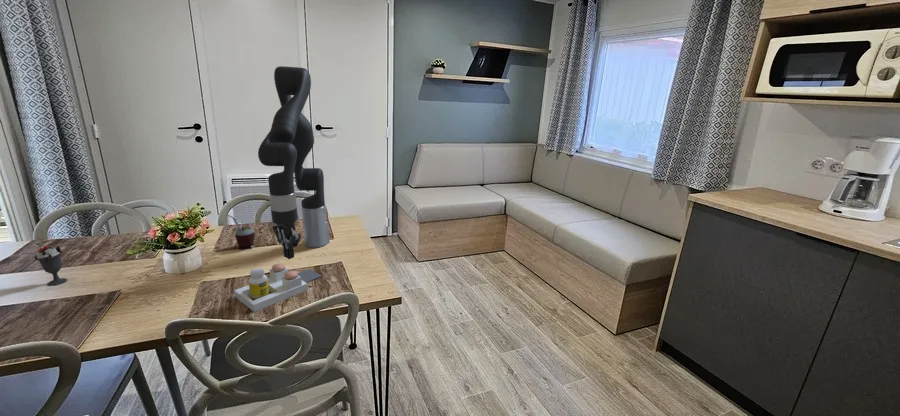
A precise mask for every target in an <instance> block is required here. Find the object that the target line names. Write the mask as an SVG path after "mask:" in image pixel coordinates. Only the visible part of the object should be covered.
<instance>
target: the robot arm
mask: <svg viewBox="0 0 900 416" xmlns="http://www.w3.org/2000/svg"><path fill="white" fill-rule="evenodd" d="M273 77H274V78H273V80H274V84H275V85H274V86H275V90H276V93H277V96H278V101H279V103H280V106H281V107H280V108H278V110H277V111H276V112H275V114H274V117H273V120H272V123H271V127H270V130H269V132H268V133H267V134H266V136H265V138H264V139H263V140H262V141H261V144H260V145H259V147H258V152H257V157H258V161H259V163H261V164H262V165H263V166H266V167H283V171H280V172H275V173H272V174H270V175H269V176H268V178H267V179H268V187H269V188H268V189H269V205H270V206H269V208H270V215H271V220H272V221H271V222H272V223H273V224H274V226H272V230H273V232H274V235H275V237H276V239H277V241H278V244H280V245H281V247H282V248H283V257H285V258H286V259H288V260H291V259H294V257H295V253H294V252H295V250H294V248H296V247H298V245H299V242H300V240H301V237H302V235H301V234H300V233H297V232H296V225H295V223H296V222H297V221H298V220H299V216H298V205H297V204H298V203H297V197H296V194H295V186H296V188H297V190H299V191H303V192H305V191H306V192H308V191H315V193H313V194H312V195H309V196H306V197H304V198H302V200H301V214H302V223H303V234H304V235H303V237H304V245H305V247H307V248H312V249H313V248H315V249H316V248H321V247H325V246H326V245H327V244H329V243H330V231H329V229H330V228H329V222H328V221H327V216H326V214H327V213H326V202H325V201H326V200H325V183H324V182H325V177H324V171H323V170H322V168H320V167H319V168H318V167H314V168H313V167H309V168H308V167H305V168H304V167H303V165H304V162H305V160H306V159H307V156H308V155H309V154H310V152H311V150H312V149H313V147H314V145H315V136H314V129H313V125H312V124H311V122H310V120H309V119H308V118H307V117H306V116H305V115H304V114H303V112H302V111H303V109H304V108H305V105H306V103H307V100H308V97H309V96H310V93H311V87H312V78H311V74H310V71H309V69H306V68H304V67H300V66H298V67H297V66H296V67H295V66H284V65H283V66H276V67H275V69H274V73H273ZM294 181H295V184H294ZM294 185H295V186H294Z"/></svg>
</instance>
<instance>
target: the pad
mask: <svg viewBox="0 0 900 416" xmlns="http://www.w3.org/2000/svg"><path fill="white" fill-rule="evenodd" d="M297 273H298V275H299V276H300V277H301V280H302V281H304V282H306V283H307V284H308V283H311V282H313V281H315V280H317V279H320V278H323V275H321V274H319V273H318V272H316V271H314V270H312V269H310V268H309V269H308V268H307V269H306V270H303V271H301V272H297Z"/></svg>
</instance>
